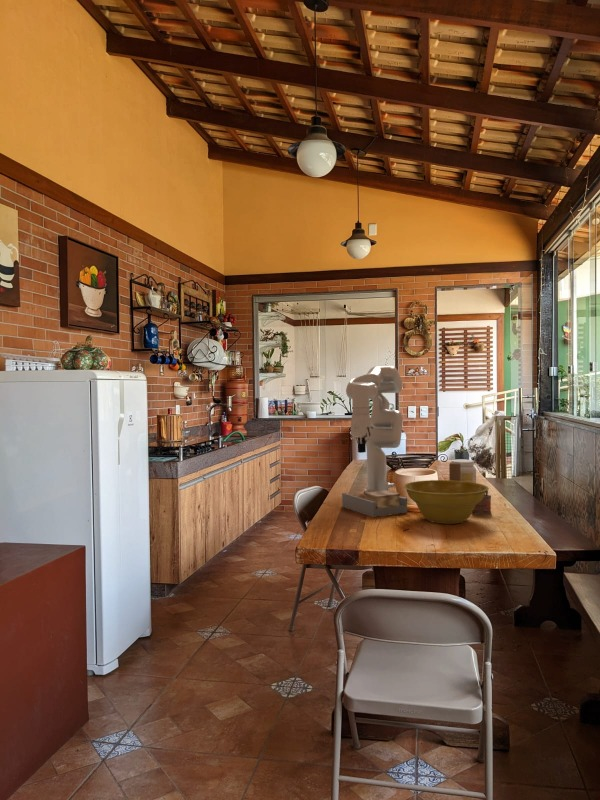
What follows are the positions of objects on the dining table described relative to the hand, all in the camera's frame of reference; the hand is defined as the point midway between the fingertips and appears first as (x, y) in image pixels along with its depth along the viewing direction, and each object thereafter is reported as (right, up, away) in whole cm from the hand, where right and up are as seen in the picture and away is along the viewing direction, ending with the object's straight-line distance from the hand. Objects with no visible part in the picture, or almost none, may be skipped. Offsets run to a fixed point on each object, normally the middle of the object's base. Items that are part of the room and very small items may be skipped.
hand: (361, 452), depth 254 cm
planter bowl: (+29, -24, -32) cm, 49 cm away
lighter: (+47, -23, -21) cm, 56 cm away
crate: (+7, -22, -18) cm, 29 cm away
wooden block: (+44, -23, -2) cm, 49 cm away
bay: (+4, -23, -12) cm, 26 cm away
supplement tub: (+50, -23, +16) cm, 57 cm away
